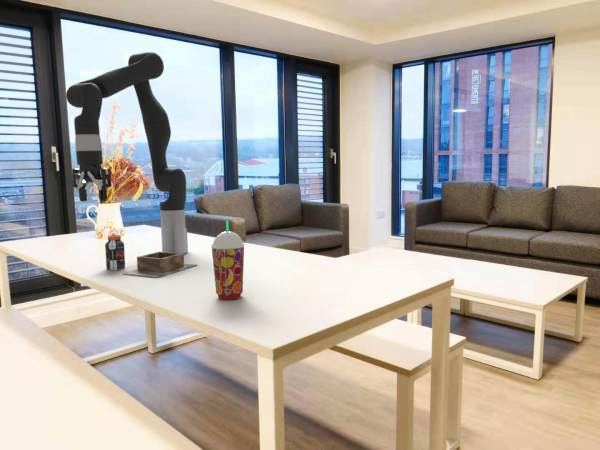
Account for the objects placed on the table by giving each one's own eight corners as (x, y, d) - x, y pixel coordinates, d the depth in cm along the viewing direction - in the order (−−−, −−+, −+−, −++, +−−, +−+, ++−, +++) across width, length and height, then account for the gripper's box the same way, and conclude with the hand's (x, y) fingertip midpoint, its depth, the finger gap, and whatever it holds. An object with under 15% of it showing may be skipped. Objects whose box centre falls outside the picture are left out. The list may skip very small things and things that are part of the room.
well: (165, 262, 172) (164, 249, 172) (197, 265, 166) (196, 251, 166) (122, 274, 154) (121, 259, 154) (156, 278, 148) (156, 262, 148)
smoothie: (214, 293, 129) (212, 219, 127) (246, 292, 130) (244, 218, 128) (211, 302, 121) (208, 222, 119) (245, 301, 122) (243, 222, 119)
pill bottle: (118, 270, 160) (116, 236, 159) (102, 270, 161) (100, 236, 160) (128, 266, 166) (126, 234, 165) (113, 266, 167) (111, 233, 166)
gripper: (115, 149, 152) (119, 200, 154) (82, 150, 158) (86, 199, 160) (95, 149, 145) (100, 203, 147) (62, 150, 151) (67, 202, 153)
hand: (93, 201), depth 154 cm, fingers open, 8 cm apart
